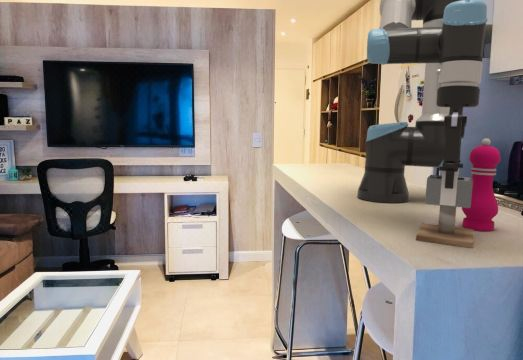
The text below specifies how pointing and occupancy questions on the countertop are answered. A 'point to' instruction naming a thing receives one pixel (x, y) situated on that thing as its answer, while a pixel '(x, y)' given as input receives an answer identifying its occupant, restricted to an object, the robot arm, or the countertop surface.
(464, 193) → the grey square ring block
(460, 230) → the peg on square base
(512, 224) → the countertop surface
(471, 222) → the pepper mill
